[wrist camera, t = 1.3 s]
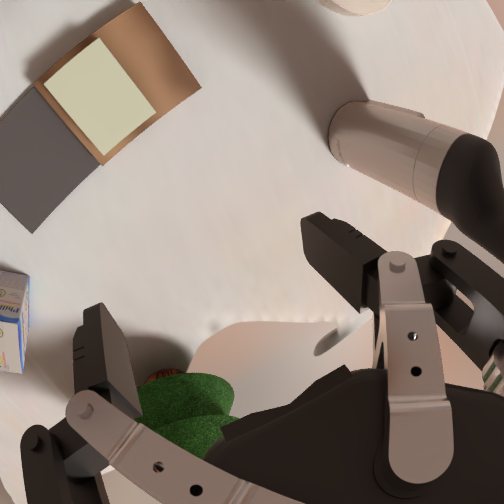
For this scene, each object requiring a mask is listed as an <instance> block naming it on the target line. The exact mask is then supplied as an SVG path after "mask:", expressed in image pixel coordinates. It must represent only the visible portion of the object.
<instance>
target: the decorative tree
mask: <svg viewBox="0 0 504 504" xmlns="http://www.w3.org/2000/svg"><path fill="white" fill-rule="evenodd" d="M136 389H137V393H138V397H139V402H140V406H141V409H142V413H143V416H141V417H138V418H135V419H134V421H136V422H137V423H138V422H139V423H141V424H143V425H145V426H146V427H148V428H149V429H151V430H152V431H154V432H155V433H157V434H159V435H160V436H162V437H163V438H165V439H167V440H168V441H170V442H172V443H173V444H175V445H177V446H178V447H180V448H182V449H184V450H185V451H187V452H189V453H191V454H192V455H194V456H196V457H198V458H200V459H203V457H204V456H205V454H206V453H207V451H208V450H209V449H210V448H211V446H212V445H213V444H214V443H215V442H216V441H218V440H219V439H220V438H221V437H223V434H222V432H221V429H220V427H222V426H224V425H227V424H229V423H231V422H234V421H236V420H238V419H239V418H237V417H233V416H229V413H230V409H231V407H232V404H233V400H234V391H233V388H232V387H231V385H230V384H229V383H228V382H227V381H225V380H224V379H222V378H220V377H217V376H215V375H211V374H205V373H184V372H182V371H180V370H177V369H165V370H161V371H158V372H156V373H154V374H152V375H151V376H150V377H149V378H148V379H147V381H146V384H144V385H142V386H140V387H138V388H136Z"/></svg>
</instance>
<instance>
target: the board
mask: <svg viewBox="0 0 504 504" xmlns="http://www.w3.org/2000/svg"><path fill="white" fill-rule="evenodd" d="M98 38H100V39H101V41H102V42H103V43H104V45H105V46H106V47H107V49H108V50H109V51H110V52H111V54H112V55H113V56H114V58H115V59H116V60H117V62H118V63H119V64H120V65H121V67H122V68H123V69H124V71H125V72H126V73H127V75H128V76H129V77H130V79H131V80H132V81H133V82H134V84H135V85H136V86H137V88H138V89H139V90H140V92H141V93H142V94H143V96H144V97H145V98H146V100H147V101H148V102H149V103H150V105H151V106H152V107H153V109H154V110H155V111H156V113H155V114H154V115H152V116H151V117H150V118H148V119H147V120H146V121H145V122H143V123H142V124H141V125H140V126H138V127H137V128H136V129H135V130H133V131H132V132H131V133H130V134H129V135H127V136H126V137H125V138H124V139H123V140H121V141H120V142H119V143H118V144H117V145H116V146H114V147H113V148H112V149H111V150H110V151H109V152H108V153H106V154H105V155H104V156H103V154H102V153H101V152H100V151H99V150H98V149H97V147H96V146H95V145H94V144H93V143H92V142H91V140H90V139H89V138H88V137H87V136H86V135H85V133H84V132H83V131H82V130H81V129H80V128H79V126H78V125H77V124H76V123H75V122H74V120H73V119H72V118H71V117H70V116H69V114H68V113H67V112H66V111H65V110H64V108H63V107H62V106H61V105H60V104H59V102H58V101H57V100H56V99H55V97H54V96H53V95H52V94H51V93H50V91H49V90H48V89H47V88H46V86H45V85H44V83H45V82H46V81H48V80H49V79H50V78H51V77H52V76H53V75H54V74H55V73H56V72H57V71H59V70H60V69H61V68H62V67H63V66H64V65H65V64H67V63H68V62H69V61H70V60H71V59H73V58H74V57H75V56H76V55H77V54H79V53H80V52H81V51H82V50H84V49H85V48H86V47H87V46H89V45H90V44H91V43H93V42H94V41H95V40H97V39H98ZM33 85H34V86H35V87H36V88H37V90H38V91H39V92H40V93H41V95H42V96H43V97H44V98H45V99H46V101H47V102H48V103H49V104H50V106H51V107H52V108H53V109H54V110H55V112H56V113H57V114H58V115H59V116H60V118H61V119H62V120H63V121H64V122H65V123H66V125H67V126H68V127H69V128H70V129H71V131H72V132H73V133H74V134H75V135H76V136H77V138H78V139H79V140H80V141H81V142H82V143H83V145H84V146H85V147H86V148H87V149H88V150H89V151H90V153H91V154H92V155H93V156H94V157H95V158H96V159H97V161H98V162H99V163H100V164H101V165H102V166H103V165H104V164H105V163H107V162H108V161H109V160H110V159H111V158H112V157H113V156H114V155H116V154H117V153H118V152H119V151H120V150H121V149H122V148H124V147H125V146H126V145H127V144H128V143H130V142H131V141H132V140H133V139H134V138H136V137H137V136H138V135H139V134H140V133H142V132H143V131H144V130H145V129H147V128H148V127H149V126H150V125H152V124H153V123H154V122H156V121H157V120H158V119H159V118H161V117H162V116H163V115H165V114H166V113H167V112H169V111H170V110H171V109H173V108H174V107H175V106H177V105H178V104H180V103H181V102H182V101H184V100H185V99H186V98H188V97H189V96H191V95H192V94H194V93H195V92H196V91H198V90H199V89H201V88H202V87H201V86H200V85H199V83H198V82H197V80H196V79H195V77H194V76H193V74H192V73H191V71H190V70H189V69H188V67H187V66H186V64H185V63H184V61H183V60H182V59H181V57H180V56H179V54H178V53H177V51H176V50H175V49H174V47H173V46H172V44H171V43H170V42H169V40H168V39H167V37H166V36H165V35H164V33H163V32H162V30H161V29H160V28H159V26H158V25H157V24H156V22H155V21H154V19H153V18H152V17H151V15H150V14H149V13H148V11H147V10H146V9H145V7H144V6H143V5H142V3H141V2H139V3H137V4H135V5H134V6H132V7H131V8H129V9H127V10H126V11H124V12H123V13H121V14H120V15H118V16H117V17H115V18H114V19H112V20H111V21H109V22H108V23H107V24H105V25H104V26H102V27H101V28H100V29H98V30H97V31H95V32H94V33H93V34H91V35H90V36H89V37H87V38H86V39H85V40H84V41H82V42H81V43H80V44H78V45H77V46H76V47H75V48H74V49H72V50H71V51H70V52H69V53H67V54H66V55H65V56H64V57H63V58H62V59H60V60H59V61H58V62H57V63H56V64H55V65H54V66H52V67H51V68H50V69H49V70H48V71H47V72H46V73H45V74H44V75H43V76H41V77H40V78H39V79H38V80H37V81H36V82H35V83H34V84H33Z"/></svg>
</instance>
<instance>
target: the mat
mask: <svg viewBox="0 0 504 504" xmlns="http://www.w3.org/2000/svg"><path fill="white" fill-rule="evenodd" d="M99 165H100V163H99V162H98V161H97V159H96V158H95V157H94V156H93V155H92V154H91V153H90V151H89V150H88V149H87V148H86V147H85V146H84V145H83V143H82V142H81V141H80V140H79V139H78V138H77V136H76V135H75V134H74V133H73V132H72V131H71V129H70V128H69V127H68V126H67V125H66V123H65V122H64V121H63V120H62V119H61V118H60V116H59V115H58V114H57V113H56V112H55V110H54V109H53V108H52V107H51V106H50V104H49V103H48V102H47V101H46V99H45V98H44V97H43V96H42V95H41V93H40V92H39V91H38V90H37V88H36V87H35V86H34V87H33V88H32V89H31V90H30V91H29V92H28V93H27V94H26V95H25V96H24V97H23V98H22V99H21V100H20V101H19V102H18V103H17V104H16V106H15V107H14V108H13V109H12V110H11V111H10V112H9V113H8V114H7V115H6V117H5V118H4V119H3V120H2V121H1V122H0V203H1V204H2V205H3V206H4V207H5V208H6V209H7V210H8V211H9V212H10V213H11V214H12V215H13V216H14V217H15V218H16V219H17V220H18V221H19V222H20V223H21V224H22V225H23V226H24V227H25V228H26V229H27V230H28V231H29V232H31V233H32V234H33V232H34V231H35V230H36V229H37V228H38V227H39V226H40V225H41V223H42V222H43V221H44V220H45V219H46V218H47V217H48V216H49V215H50V214H51V213H52V211H53V210H54V209H55V208H56V207H57V206H58V205H59V204H60V203H61V202H62V201H63V200H64V199H65V198H66V197H67V196H68V195H69V194H70V193H71V192H72V191H73V190H74V189H75V188H76V187H77V186H78V185H79V184H80V183H81V182H82V181H83V180H84V179H85V178H86V177H87V176H88V175H89V174H91V173H92V172H93V171H94V170H95V169H96V168H97V167H98V166H99Z"/></svg>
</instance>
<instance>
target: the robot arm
mask: <svg viewBox="0 0 504 504" xmlns="http://www.w3.org/2000/svg"><path fill="white" fill-rule="evenodd" d="M328 139H329V146H330V149H331V152H332V154H333V156H334V157H335V158H336V159H337V160H338V161H339V162H340V163H342V164H344V165H346V166H348V167H350V168H353V169H355V170H357V171H359V172H361V173H363V174H365V175H367V176H369V177H371V178H373V179H375V180H377V181H379V182H381V183H383V184H385V185H387V186H389V187H391V188H393V189H395V190H397V191H399V192H401V193H403V194H405V195H406V196H408V197H410V198H412V199H414V200H416V201H418V202H419V203H421V204H423V205H425V206H427V207H429V208H430V209H432V210H434V211H436V212H437V213H439V214H441V215H443V216H444V217H446V218H447V219H449V220H451V221H452V222H453V223H454V224H455V226H456V227H457V228H458V229H459V230H460V231H461V232H462V233H463V234H465V235H466V236H467V237H469V238H470V239H471V240H473V241H475V242H476V243H477V244H479V245H480V246H481V247H483V248H484V249H486V250H487V251H488V252H489V253H491V254H492V255H494V256H495V257H496V258H497V259H498V260H500V261H501V262H502V263H503V264H504V188H503V184H502V178H501V170H500V163H499V158H498V155H497V152H496V150H495V148H494V147H493V145H492V144H491V143H489V142H488V141H486V140H484V139H482V138H480V137H477V136H475V135H472V134H469V133H467V132H464V131H461V130H458V129H455V128H453V127H450V126H446V125H443V124H440V123H437V122H434V121H431V120H428V119H425V117H424V115H423V114H422V113H420V112H416V111H413V110H409V109H405V108H401V107H397V106H393V105H389V104H385V103H381V102H377V101H372V100H368V101H367V102H359V101H354V102H350V103H347V104H345V105H344V106H342V107H341V108H340V109H339V110H338V111H337V113H336V114H335V116H334V117H333V119H332V122H331V124H330V129H329V138H328ZM301 232H302V240H303V249H304V254H305V257H306V259H307V261H308V262H309V264H310V265H311V266H312V267H313V268H314V269H315V270H316V271H317V272H318V273H319V274H320V275H321V276H322V277H323V278H324V279H325V280H326V281H327V282H328V283H329V284H330V285H331V286H332V287H333V288H334V289H335V290H336V291H337V292H338V293H339V294H340V295H341V296H342V297H343V298H344V299H345V300H346V301H347V302H348V303H349V304H350V305H351V306H352V307H353V308H354V309H355V310H356V311H357V312H358V313H359V314H361V313H363V312H364V311H366V310H368V309H369V308H370V309H371V310H372V311H373V366H372V368H371V369H370V368H368V369H360V370H355V371H351V372H350V371H349V369H348V368H347V367H346V366H345V365H342V366H341V367H339V368H337V369H336V370H334V371H332V372H330V373H329V374H327V375H325V376H323V377H322V378H320V379H318V380H316V381H315V382H314V383H313V384H312V385H311V386H310V387H308V388H307V389H306V390H305V391H304V392H303V393H302V394H301V395H300V396H298V397H297V398H296V399H295V400H294V401H293V402H291V403H290V404H288V405H285V406H281V407H277V408H273V409H269V410H264V411H260V412H256V413H251V414H249V415H247V416H245V417H243V418H241V419H238V420H236V421H234V422H231V423H229V424H227V425H224V426H222V427H220V429H221V432H222V434H223V437H221V438H220V439H219V440H218V441H216V442H215V443H214V444H213V445H212V446H211V448H210V449H209V450H208V451H207V453H206V454H205V456H204V457H203V459H200V458H198V457H196V456H194V455H192V454H191V453H189V452H187V451H185V450H184V449H182V448H180V447H178V446H177V445H175V444H173V443H172V442H170V441H168V440H167V439H165V438H163V437H162V436H160V435H159V434H157V433H155V432H154V431H152V430H151V429H149V428H148V427H146V426H145V425H143V424H141V423H139V422H138V423H137V422H136V421H134V419H135V418H138V417H141V416H143V413H142V409H141V406H140V402H139V397H138V393H137V389H136V385H135V380H134V376H133V371H132V366H131V361H130V357H129V351H128V346H127V342H126V339H125V337H124V335H123V333H122V331H121V329H120V328H119V326H118V325H117V323H116V322H115V320H114V319H113V317H112V316H111V314H110V313H109V311H108V310H107V308H106V307H105V305H104V304H103V303H102V302H101V303H98V304H96V305H94V306H91V307H89V308H87V309H85V310H84V311H83V325H82V326H80V327H78V328H77V330H76V332H75V335H74V338H73V352H74V353H73V360H74V362H73V371H74V389H75V395H74V396H73V397H72V398H71V399H70V401H69V402H68V404H67V407H66V417H65V418H64V419H63V420H61V421H60V422H59V423H57V424H56V425H55V426H53V427H52V428H51V429H49V430H48V429H47V428H45V427H44V426H42V425H33V426H31V427H30V428H28V429H27V430H26V431H25V433H24V434H23V436H22V439H21V444H20V449H21V460H22V469H23V477H24V485H25V491H26V497H27V503H28V504H110V503H109V500H108V496H107V493H106V490H105V487H104V483H103V480H102V476H101V473H100V471H102V470H103V469H105V468H106V467H107V466H109V465H111V466H112V467H114V468H115V469H116V470H117V471H119V472H120V473H121V474H122V475H124V476H125V477H126V478H127V479H129V480H130V481H131V482H133V483H134V484H135V485H137V486H138V487H139V488H141V489H142V490H143V491H145V492H146V493H148V494H149V495H150V496H152V497H153V498H155V499H156V500H158V501H159V502H161V503H162V504H504V278H503V277H501V276H500V275H499V274H498V273H496V272H495V271H494V270H493V269H491V268H490V267H489V266H488V265H486V264H485V263H484V262H482V261H481V260H480V259H479V258H477V257H476V256H475V255H473V254H472V253H471V252H469V251H468V250H467V249H465V248H464V247H463V246H461V245H460V244H458V243H456V242H454V241H451V240H440V241H437V242H435V243H434V244H433V246H432V250H431V254H430V255H426V256H422V257H418V258H413V257H412V256H411V255H409V254H407V253H404V252H400V251H391V252H387V251H386V250H384V249H383V248H381V247H380V246H379V245H377V244H376V243H375V242H373V241H372V240H371V239H369V238H368V237H366V236H365V235H363V234H362V233H361V232H360V231H358V230H356V229H355V228H354V227H353V226H351V225H350V224H348V223H347V222H344V221H341V220H338V219H335V218H334V219H332V220H331V219H330V218H328V217H327V216H325V215H324V214H323V213H321V212H316V213H314V214H311V215H309V216H306V217H304V218H302V219H301ZM457 289H458V290H459V291H461V292H462V293H463V294H464V295H465V296H466V297H467V298H468V299H469V300H471V302H472V303H473V305H474V311H473V310H472V309H471V308H470V307H469V306H468V305H467V304H466V303H464V302H463V301H462V300H461V299H460V298H459V297H458V296H457V295H456V290H457ZM436 324H437V325H438V326H439V327H440V328H441V329H442V330H443V331H444V332H445V333H446V334H447V335H448V336H449V337H450V338H451V339H452V340H453V341H454V342H455V343H456V344H457V345H458V346H459V347H460V348H461V350H462V351H463V352H464V353H465V354H466V355H467V356H468V357H469V358H470V359H471V360H472V361H473V362H474V363H475V364H476V365H477V367H478V368H479V369H480V370H481V371H482V378H483V381H484V390H478V389H473V388H468V387H462V386H457V385H452V384H447V383H445V382H444V375H443V366H442V359H441V352H440V345H439V340H438V333H437V328H436Z"/></svg>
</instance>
